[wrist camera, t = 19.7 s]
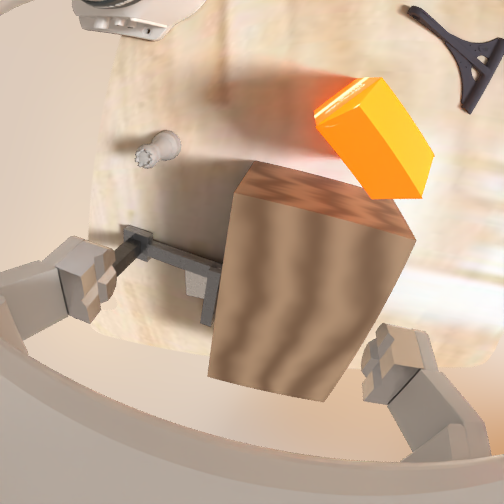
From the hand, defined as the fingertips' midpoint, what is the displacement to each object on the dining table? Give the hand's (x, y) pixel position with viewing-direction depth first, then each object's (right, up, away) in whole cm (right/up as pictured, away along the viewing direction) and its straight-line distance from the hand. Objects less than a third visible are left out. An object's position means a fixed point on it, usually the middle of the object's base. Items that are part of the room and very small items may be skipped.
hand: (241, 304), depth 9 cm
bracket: (+27, +30, +20) cm, 45 cm away
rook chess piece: (-12, +17, +35) cm, 40 cm away
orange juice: (+14, +19, +28) cm, 37 cm away
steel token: (-8, -3, +47) cm, 47 cm away
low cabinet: (+8, -1, +42) cm, 42 cm away
